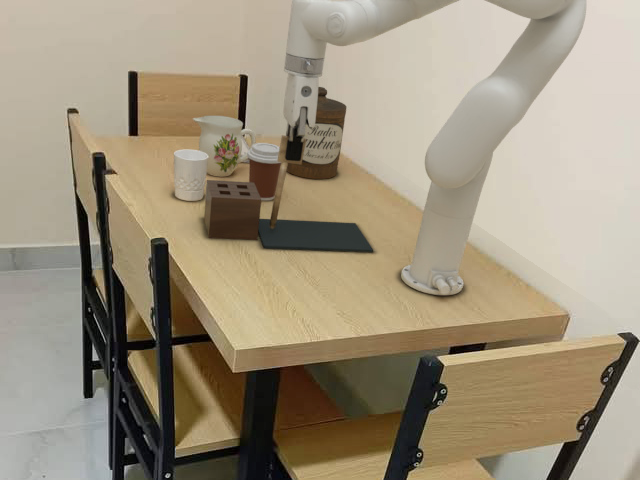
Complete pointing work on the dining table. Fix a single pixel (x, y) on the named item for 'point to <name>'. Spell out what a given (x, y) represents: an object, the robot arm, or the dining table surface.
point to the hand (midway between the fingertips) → (291, 158)
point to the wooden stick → (282, 177)
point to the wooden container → (322, 140)
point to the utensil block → (232, 210)
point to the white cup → (190, 174)
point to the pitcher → (222, 143)
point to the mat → (313, 236)
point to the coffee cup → (264, 169)
